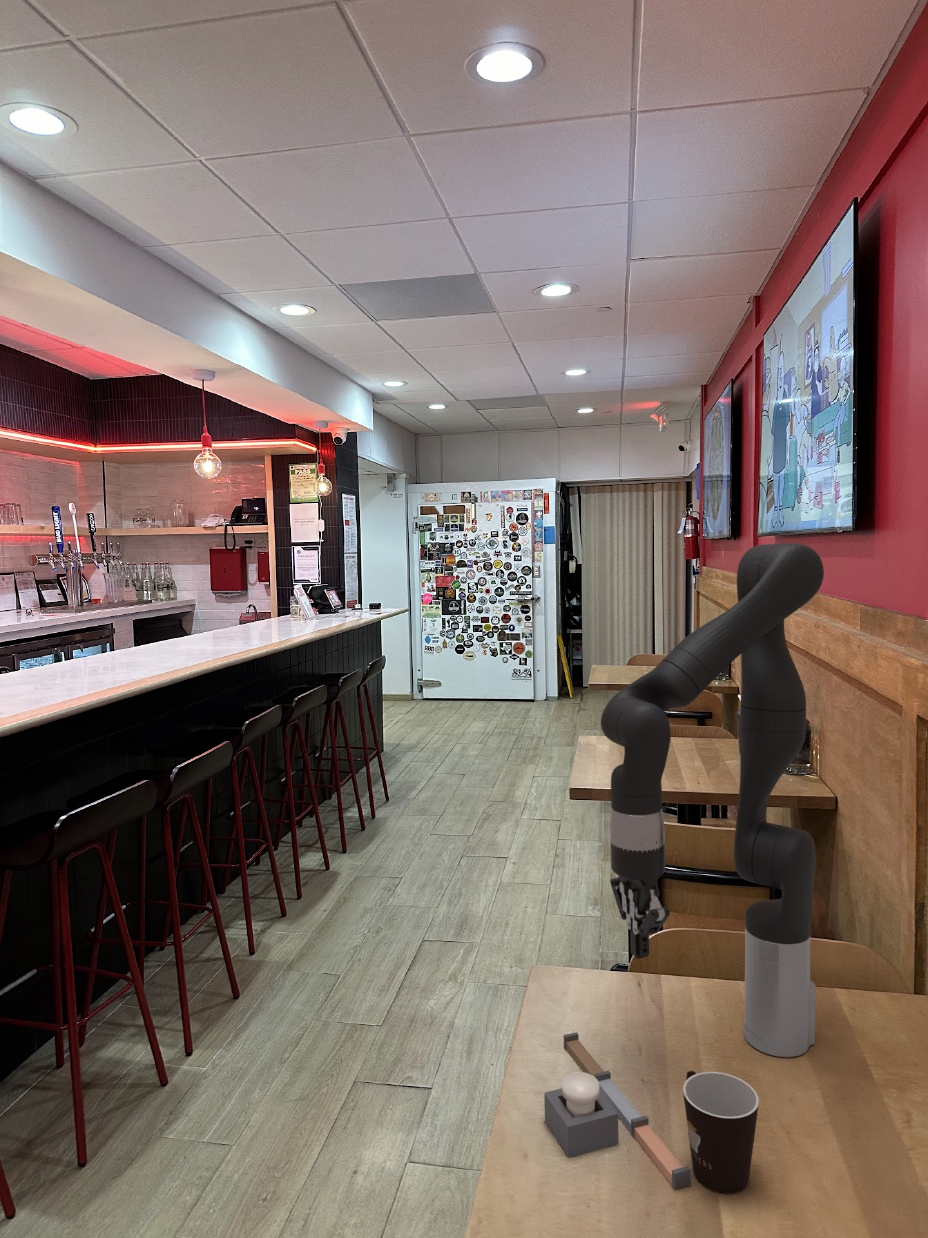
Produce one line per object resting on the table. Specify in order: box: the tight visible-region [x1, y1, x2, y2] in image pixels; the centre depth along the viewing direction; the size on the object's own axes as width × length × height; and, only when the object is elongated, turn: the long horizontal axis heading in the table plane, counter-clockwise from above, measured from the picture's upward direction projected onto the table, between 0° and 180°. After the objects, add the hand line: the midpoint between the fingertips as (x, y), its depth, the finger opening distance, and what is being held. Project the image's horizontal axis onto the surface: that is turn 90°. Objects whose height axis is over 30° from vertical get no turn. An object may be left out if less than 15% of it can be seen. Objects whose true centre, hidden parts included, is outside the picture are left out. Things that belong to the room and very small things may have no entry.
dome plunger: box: [561, 1071, 599, 1118], centre depth 106 cm, size 5×5×6 cm
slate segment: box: [595, 1070, 642, 1133], centre depth 111 cm, size 2×10×2 cm, turn 19°
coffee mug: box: [682, 1070, 760, 1195], centre depth 100 cm, size 12×9×10 cm
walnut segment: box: [563, 1031, 605, 1077], centre depth 121 cm, size 2×10×2 cm, turn 18°
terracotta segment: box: [630, 1115, 692, 1191], centre depth 102 cm, size 2×10×2 cm, turn 19°
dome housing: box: [543, 1087, 619, 1159], centre depth 106 cm, size 7×7×4 cm
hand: (639, 955), depth 119 cm, fingers closed
